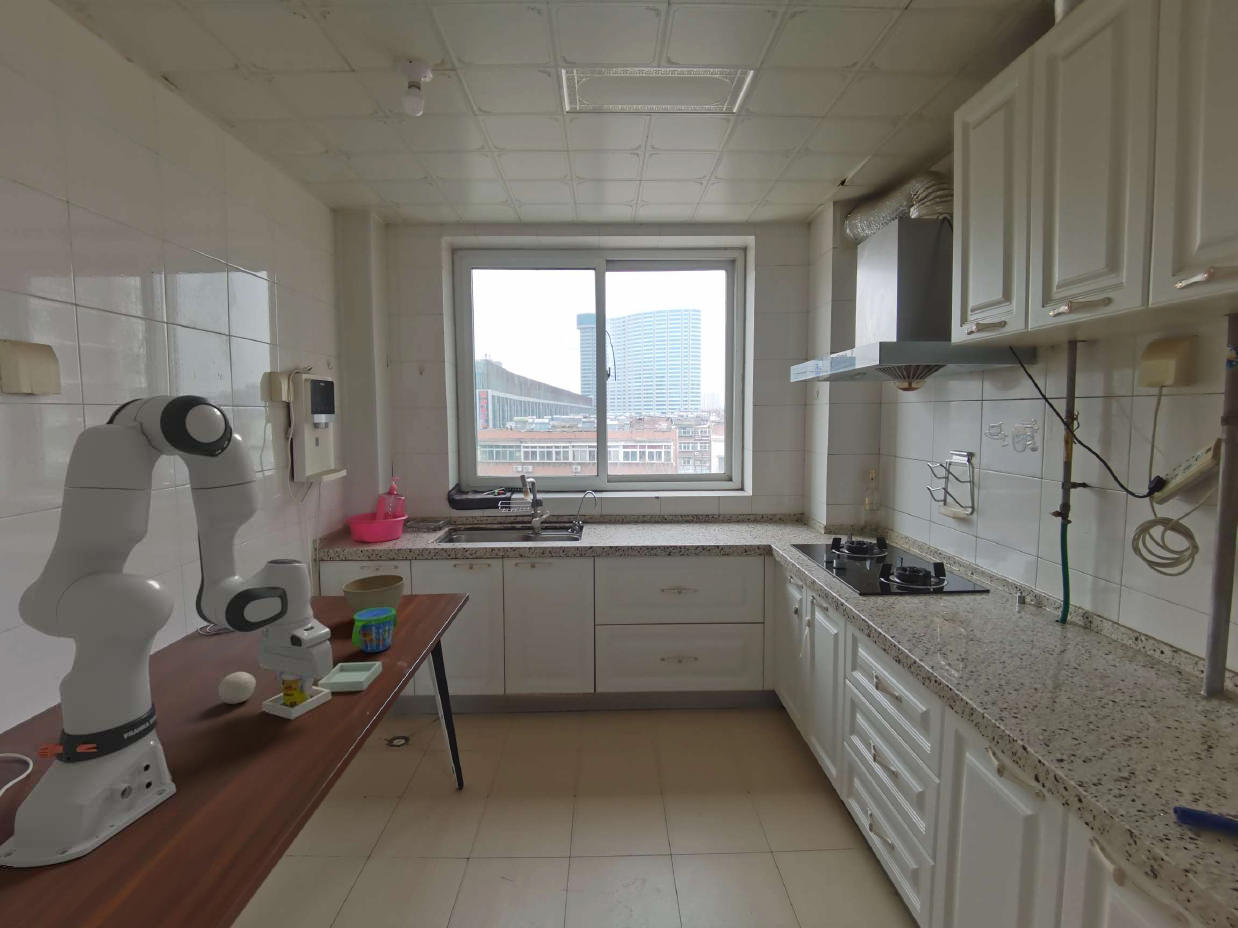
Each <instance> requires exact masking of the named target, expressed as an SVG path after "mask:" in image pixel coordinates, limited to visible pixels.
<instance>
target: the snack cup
mask: <svg viewBox="0 0 1238 928" xmlns="http://www.w3.org/2000/svg"><path fill="white" fill-rule="evenodd" d="M398 620H399V619H398V617H397V612H396V611H395V610H394V609H393V608H389V607H378V608H371V609H367V610H363V611H360V612H358V613H357V614H353V621H354V625H353V629H352V634H351V635H352V636H351V643H352V645H353V646H354V647H361V649H362V651H364V652H366V653H377V652H378V653H379V652H383V651H385V650H387V649H388V648H390V647H391V646H392V640H393V630H394V628H397V627H398V625H399V621H398Z"/></svg>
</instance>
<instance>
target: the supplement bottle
mask: <svg viewBox="0 0 1238 928" xmlns="http://www.w3.org/2000/svg"><path fill="white" fill-rule="evenodd" d="M285 669H286V670H285V671H286V673H285V672H284V673H283V674H282V686H283V689H282V693H283V698H284V703H283V706H287V707H290V708H294V707H295V706H297V705H299V704H301V703H303V702H305V701H307V700H309V699H311V698H312V696H310V693H309V694H307V695H306V694H302V693H301V689H300V686H303V684H304V680H303V679H302V676H299V675H294V674H290V672H289V669H288V667H285Z"/></svg>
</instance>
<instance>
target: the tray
mask: <svg viewBox="0 0 1238 928" xmlns="http://www.w3.org/2000/svg"><path fill="white" fill-rule="evenodd" d="M382 671H383V664H382V661H366V662H364V661H362V662H361V661H360V662H340V663H338V664H337V665H336V666H334V668H332V671H331V673H330V674H329V675H327V676H325V677H323V678H321V679H319V681H318V682H317V687H319V688H324V689H328V690H331V693H334V692H335V693H336V692H337V693H338V692H356V691H358V692H359V691H365V690H366V689H367V688H368V686H369V685H370V684H371V683H372V682H373V681H374V680H375V679H376V678H377V677H378V676H379V675H380V674H381V672H382Z"/></svg>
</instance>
